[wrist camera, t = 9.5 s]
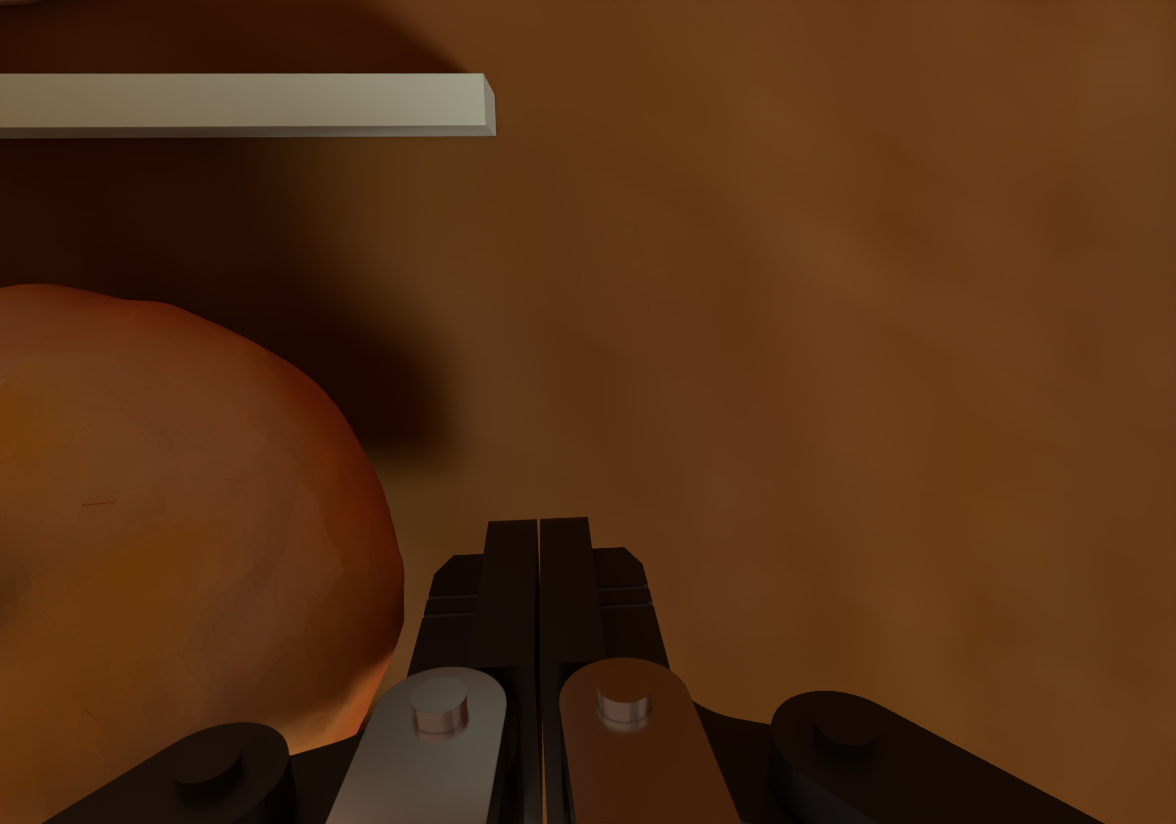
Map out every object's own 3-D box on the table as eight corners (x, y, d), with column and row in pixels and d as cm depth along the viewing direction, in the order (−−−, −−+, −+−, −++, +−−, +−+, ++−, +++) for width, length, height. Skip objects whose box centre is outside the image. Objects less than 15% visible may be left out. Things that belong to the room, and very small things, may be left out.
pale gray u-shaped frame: (-444, 97, 11) (-721, 73, 8) (494, 95, 12) (483, 73, 9) (-153, 827, 15) (-285, 951, 12) (524, 787, 16) (521, 897, 13)
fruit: (-146, 751, 13) (-968, 1018, 5) (63, 337, 15) (-297, 87, 7) (321, 853, 14) (224, 1186, 6) (452, 459, 16) (496, 357, 9)
